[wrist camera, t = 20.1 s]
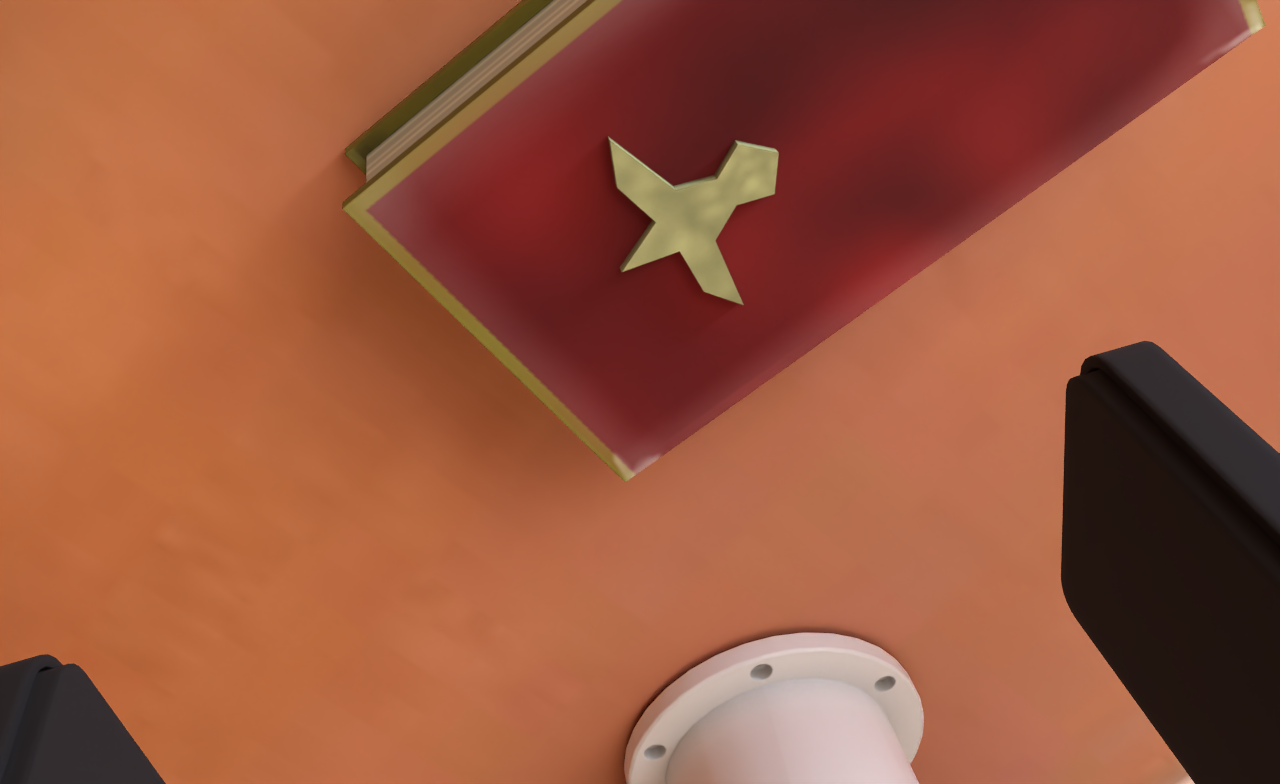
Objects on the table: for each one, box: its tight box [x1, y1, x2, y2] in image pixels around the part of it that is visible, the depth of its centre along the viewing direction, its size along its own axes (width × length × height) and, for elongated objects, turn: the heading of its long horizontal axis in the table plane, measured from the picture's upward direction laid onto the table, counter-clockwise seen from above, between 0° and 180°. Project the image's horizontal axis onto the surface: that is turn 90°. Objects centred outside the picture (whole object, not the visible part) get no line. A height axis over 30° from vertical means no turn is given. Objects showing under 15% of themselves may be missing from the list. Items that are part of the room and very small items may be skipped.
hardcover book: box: [342, 0, 1265, 482], centre depth 30 cm, size 12×21×4 cm, turn 126°
